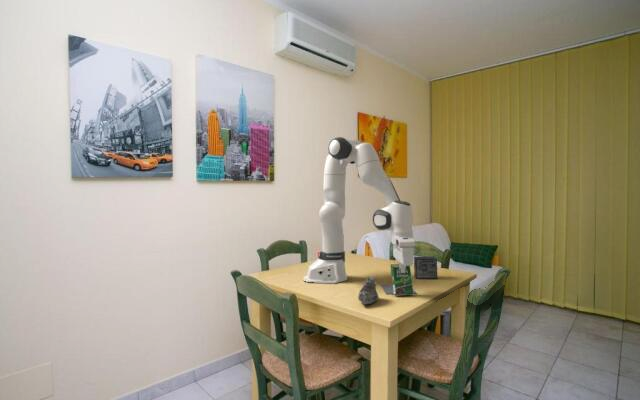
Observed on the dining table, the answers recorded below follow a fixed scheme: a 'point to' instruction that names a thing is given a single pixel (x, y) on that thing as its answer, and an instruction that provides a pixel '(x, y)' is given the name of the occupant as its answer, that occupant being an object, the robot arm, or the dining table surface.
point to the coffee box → (401, 280)
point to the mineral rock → (368, 292)
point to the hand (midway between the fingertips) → (402, 272)
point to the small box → (425, 267)
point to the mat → (390, 289)
